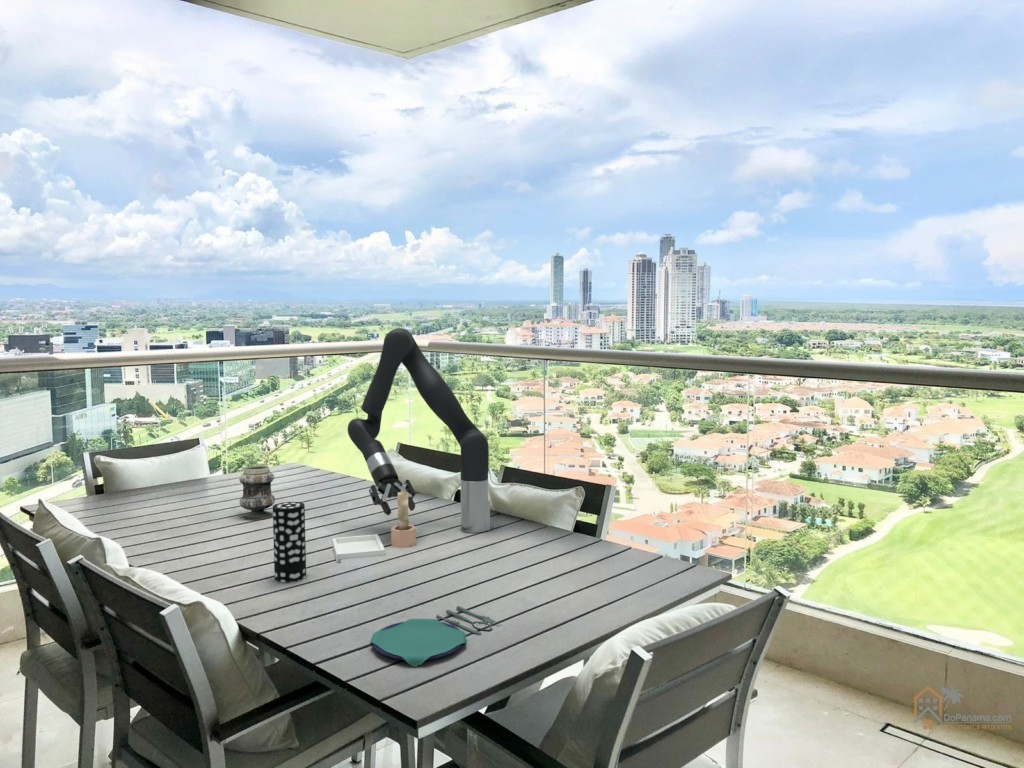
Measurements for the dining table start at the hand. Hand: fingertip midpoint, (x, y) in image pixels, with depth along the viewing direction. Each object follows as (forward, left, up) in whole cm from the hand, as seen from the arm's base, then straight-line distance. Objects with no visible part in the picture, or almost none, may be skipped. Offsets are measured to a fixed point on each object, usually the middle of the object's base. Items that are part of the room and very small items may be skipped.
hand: (401, 511), depth 230 cm
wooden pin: (0, +1, -10) cm, 10 cm away
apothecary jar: (+44, -51, -11) cm, 68 cm away
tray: (+14, +2, -11) cm, 18 cm away
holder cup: (0, +1, -11) cm, 11 cm away
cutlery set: (+4, +69, -12) cm, 70 cm away
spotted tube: (+34, +19, -11) cm, 40 cm away
